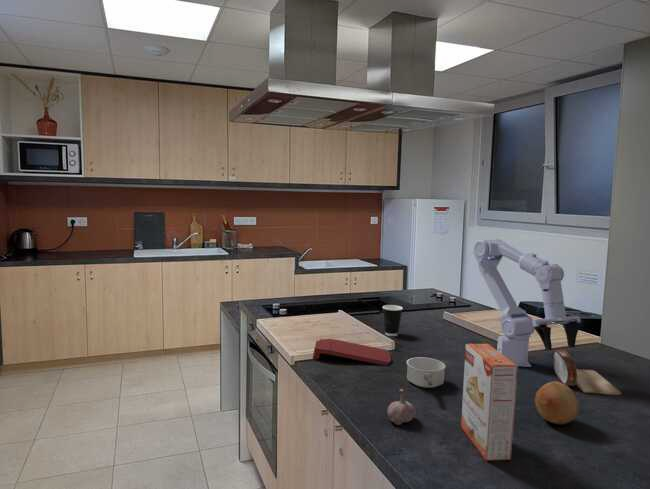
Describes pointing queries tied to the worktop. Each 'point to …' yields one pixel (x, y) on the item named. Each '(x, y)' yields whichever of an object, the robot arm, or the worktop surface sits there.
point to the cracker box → (489, 401)
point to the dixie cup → (392, 319)
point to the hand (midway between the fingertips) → (560, 348)
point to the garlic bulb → (401, 410)
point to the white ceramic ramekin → (425, 372)
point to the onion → (557, 403)
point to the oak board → (594, 383)
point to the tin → (565, 367)
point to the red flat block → (352, 351)
